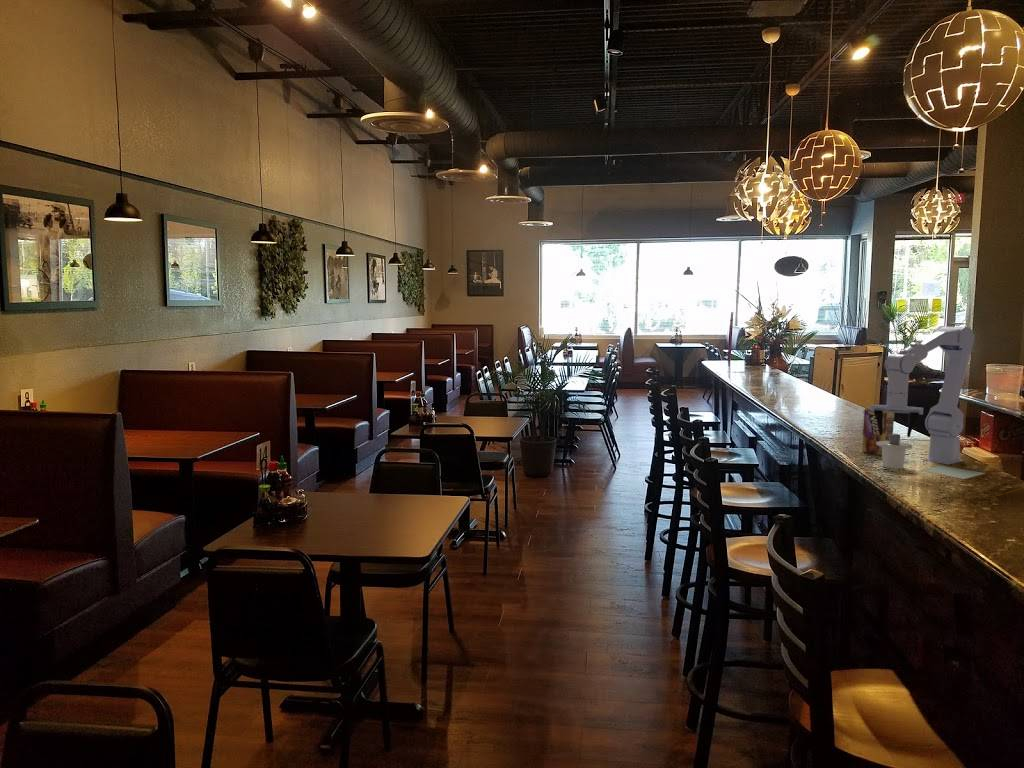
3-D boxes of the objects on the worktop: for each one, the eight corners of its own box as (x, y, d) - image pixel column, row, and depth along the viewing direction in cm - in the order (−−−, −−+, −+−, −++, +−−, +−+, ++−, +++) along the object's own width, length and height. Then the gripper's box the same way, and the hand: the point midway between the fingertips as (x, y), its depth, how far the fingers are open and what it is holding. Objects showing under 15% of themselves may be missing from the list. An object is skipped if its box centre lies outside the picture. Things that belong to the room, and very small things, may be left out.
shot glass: (907, 470, 228) (909, 448, 227) (883, 469, 229) (885, 447, 229) (900, 465, 235) (902, 444, 234) (877, 464, 236) (879, 443, 235)
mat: (940, 466, 234) (940, 465, 234) (985, 474, 223) (985, 473, 223) (919, 471, 227) (919, 470, 227) (964, 480, 216) (964, 478, 216)
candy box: (892, 455, 251) (895, 410, 249) (883, 456, 249) (886, 411, 247) (869, 450, 259) (872, 407, 257) (861, 451, 257) (863, 408, 255)
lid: (887, 441, 238) (888, 430, 238) (918, 446, 230) (919, 435, 229) (869, 444, 233) (870, 433, 232) (901, 450, 224) (901, 438, 224)
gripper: (871, 392, 229) (868, 435, 230) (924, 395, 223) (921, 439, 224) (871, 390, 235) (869, 432, 237) (923, 392, 229) (920, 435, 230)
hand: (894, 435), depth 231 cm, fingers open, 7 cm apart
